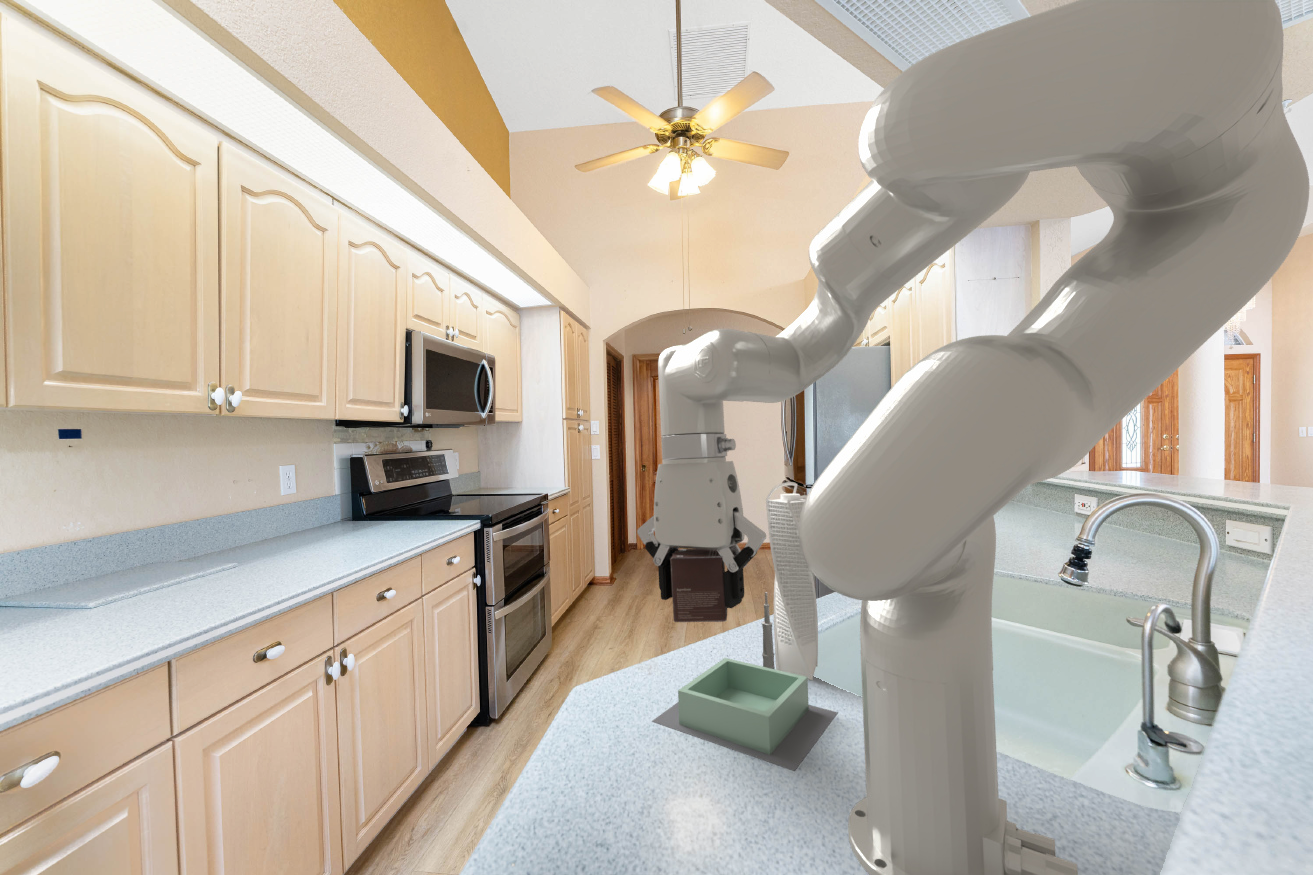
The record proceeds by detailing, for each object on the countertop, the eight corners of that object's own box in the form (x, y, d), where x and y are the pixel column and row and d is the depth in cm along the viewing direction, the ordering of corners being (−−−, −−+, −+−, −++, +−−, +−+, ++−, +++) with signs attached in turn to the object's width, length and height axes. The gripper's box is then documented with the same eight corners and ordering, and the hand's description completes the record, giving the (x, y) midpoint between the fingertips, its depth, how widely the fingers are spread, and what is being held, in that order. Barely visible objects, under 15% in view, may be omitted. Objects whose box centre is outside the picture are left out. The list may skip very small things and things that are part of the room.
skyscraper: (771, 660, 82) (765, 481, 83) (825, 667, 79) (818, 481, 80) (762, 683, 75) (754, 485, 75) (821, 691, 72) (813, 485, 72)
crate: (808, 709, 65) (807, 676, 65) (770, 754, 56) (768, 716, 56) (726, 687, 72) (725, 657, 72) (679, 724, 63) (678, 690, 63)
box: (726, 623, 58) (723, 556, 58) (672, 623, 59) (669, 557, 59) (728, 607, 64) (724, 547, 64) (678, 608, 65) (675, 548, 65)
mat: (837, 715, 64) (837, 712, 64) (794, 774, 53) (794, 770, 53) (710, 681, 75) (710, 678, 75) (651, 724, 64) (651, 721, 64)
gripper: (775, 447, 61) (783, 601, 60) (650, 453, 70) (656, 586, 69) (749, 447, 54) (758, 619, 54) (615, 454, 64) (621, 601, 63)
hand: (700, 600), depth 62 cm, fingers closed on box, 7 cm apart
